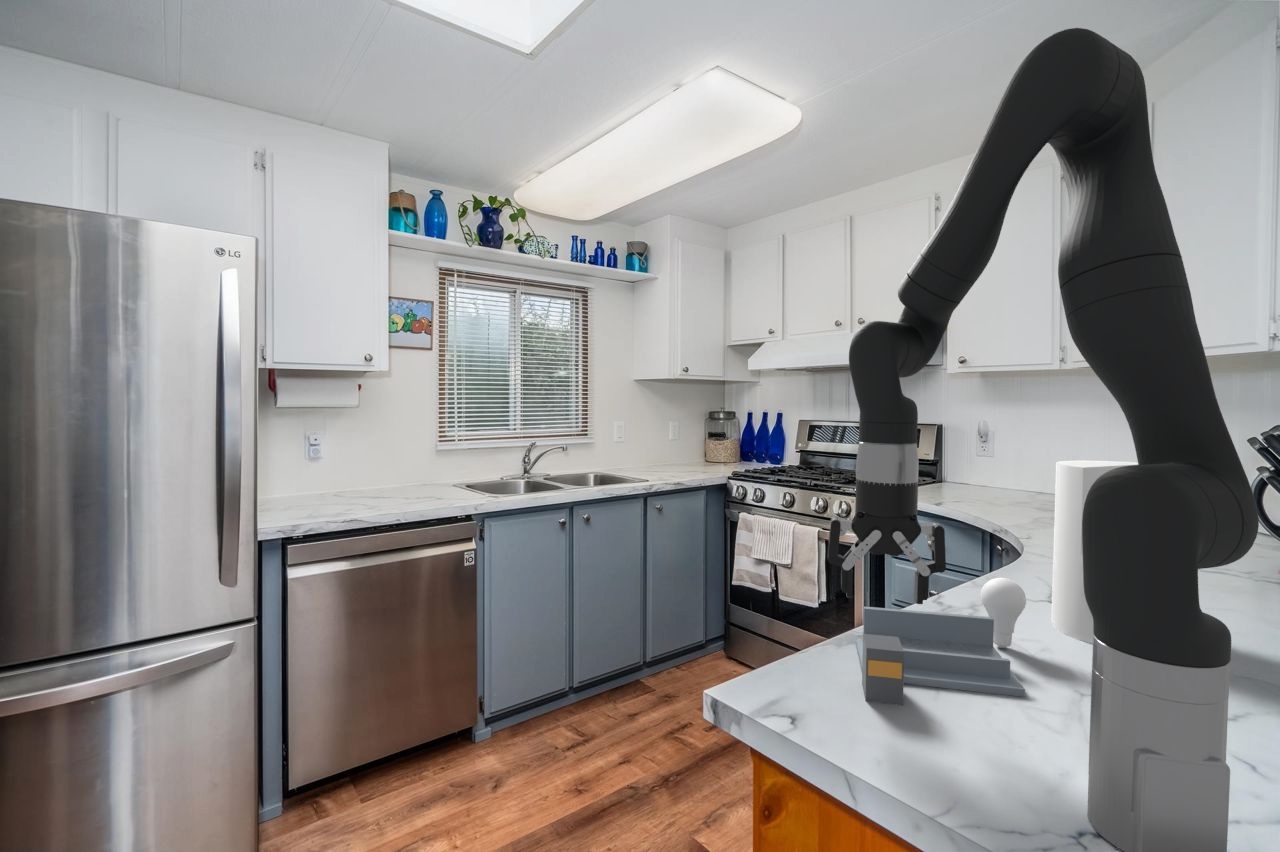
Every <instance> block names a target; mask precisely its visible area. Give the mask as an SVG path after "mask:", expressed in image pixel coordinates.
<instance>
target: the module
mask: <svg viewBox="0 0 1280 852" xmlns="http://www.w3.org/2000/svg"><path fill="white" fill-rule="evenodd" d="M862 640H863V659H862V672H861V686H862V691H863V695H864V699H865V702H871V703H878V704H888V705H896V706H897V705H898V706H904V684H905V683H904V650H903V648H902V645H901V642H900V640H899V637H893V636H883V635H872V634H863V633H862Z"/></svg>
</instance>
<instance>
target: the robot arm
mask: <svg viewBox="0 0 1280 852" xmlns="http://www.w3.org/2000/svg"><path fill="white" fill-rule="evenodd" d="M1150 131H1151V130H1150V121H1149V109H1148V97H1147V89H1146V83H1145V76H1144V74H1143V71H1142V68H1141V67H1140V66H1139V63H1138V62H1137V61H1136V60H1135V58H1133V56H1132V55H1131V54H1129V53H1128V52H1126V51H1125V50H1123V49H1122V48H1120V47H1118V46H1117V45H1116V44H1114V43H1112V42H1111V41H1110V40H1108V39H1107V38H1105V37H1103V36H1102V35H1101V34H1098V33H1097V32H1095V31H1093V30H1091V29H1087V28H1081V27H1073V28H1067V29H1063V30H1060V31H1057V32H1055V33H1053V34H1052V35H1050V36H1048V37H1046V38H1044V39H1043V40H1042V41H1040V43H1038V44H1037V45H1036V46H1035V47H1034V48H1033V49H1032V50H1031V51H1030V52H1029V53H1028V54H1027V56H1025V57H1024V59H1023V60H1022V61H1021V63H1020V64H1019V66H1018V68H1017V69H1016V71H1015V72H1014V74H1013V76H1012V77H1011V79H1010V81H1009V83H1008V84H1007V86H1006V88H1005V90H1004V92H1003V94H1002V96H1001V98H1000V100H999V101H998V105H997V106H996V108H995V111H994V113H993V114H992V117H991V119H990V121H989V123H988V125H987V128H986V130H985V132H984V134H983V136H982V139H981V140H980V142H979V144H978V146H977V148H976V150H975V152H974V154H973V157H972V159H971V160H970V163H969V164H968V167H967V170H966V171H965V174H964V176H963V178H962V180H961V183H960V184H959V187H958V189H957V191H956V193H955V194H954V196H953V199H952V201H951V202H950V204H949V206H948V207H947V209H946V212H945V213H944V214H943V217H942V218H941V221H940V222H939V224H938V225H937V226H936V228H935V230H934V232H933V234H932V235H931V237H930V238H929V240H928V241H927V243H926V245H924V248H922V250H921V252H919V253H920V254H919V255H918V256H917V258H916V259H915V261H914V262H913V264H912V265H911V266H910V268H909V270H908V272H907V273H906V274H905V276H904V277H903V279H902V280H901V283H900V285H899V286H898V290H897V297H898V299H899V301H900V303H901V304H902V305H903V306H904V307H903V309H902V312H901V314H900V317H899V318H898V319H897V320H896V322H894V321H893V322H892V321H882V320H874V321H869V322H866V323H865V324H863V325H861V326H860V327H859V328H858V330H857V331H856V332H855V334H854V335H853V337H852V339H851V342H850V345H849V351H848V363H849V370H850V376H851V380H852V385H853V389H854V393H855V398H856V401H857V405H858V409H859V423H858V424H859V426H858V429H859V431H858V448H857V453H856V461H855V462H856V467H855V506H854V508H855V510H854V512H855V513H854V516H853V518H852V519H851V520H850V519H841V518H839V517H838V516H832V517H831V518H830V521H829V533H828V534H829V535H828V545H827V561H828V563H829V564H830V565H835V566H837V567H838V568H840V570H841V571H840V589H841V591H842V593H844V594H845V595H846V598H848V599H853V594H854V593H853V592H854V591H853V590H854V589H853V588H854V587H853V586H854V585H853V583H854V570H853V567H854V566H855V565H856V564H857V563H858V561H859V560H861V559H862V558H863V557H864V556H865V555H866V554H867V553H870V554H872V555H875V556H876V555H877V556H881V555H888V556H891V557H899V556H900V555H903V554H905V556H906V557H907V558H908V560H910V562H911V563H912V564H913V565H914V567H915V568H916V571H914V589H913V590H914V591H913V594H914V596H913V597H914V598H913V599H914V602H915V604H916V605H923V603H924V601H927V600H928V598H929V591H930V590H929V589H930V587H929V586H930V585H929V584H930V576H931V575H933V574H936V573H940V574H941V573H945V572H946V569H947V564H946V563H947V562H946V560H947V559H946V536H945V534H946V532H945V528H944V527H943V525H941V524H940V523H939V522H937V521H933V522H931V523H929V524H927V523H925V524H924V523H919V520H918V499H919V498H918V497H919V495H918V493H919V491H918V490H919V467H920V466H919V461H920V460H919V454H918V453H919V452H918V444H917V443H918V421H919V419H918V417H919V416H918V415H919V412H918V407H917V404H916V402H915V401H914V400H913V399H912V398H909V397H907V396H905V395H904V393H903V390H902V386H901V381H900V378H901V379H902V378H908V377H911V376H914V375H916V374H918V373H919V372H920V371H921V370H923V369H924V368H925V367H926V366H927V365H928V364H929V363H930V361H931V360H932V358H933V357H934V356H935V354H936V352H937V350H938V348H939V346H940V344H941V342H942V339H943V337H944V335H945V332H946V330H947V328H948V325H949V323H950V320H951V318H952V315H953V312H954V311H955V310H956V308H957V307H958V306H959V305H960V304H961V302H962V300H964V298H965V297H966V296H967V294H968V292H970V290H972V287H973V286H974V284H975V283H977V281H978V279H979V278H980V276H981V275H982V274H983V272H984V271H985V269H986V268H987V266H988V264H989V263H990V261H991V259H992V256H993V254H994V252H995V250H996V247H997V245H998V242H999V239H1000V235H1001V232H1002V229H1003V225H1004V221H1005V217H1006V214H1007V211H1008V209H1009V206H1010V203H1011V200H1012V197H1013V195H1014V193H1015V191H1016V188H1017V187H1018V185H1019V183H1020V181H1021V179H1022V178H1023V176H1024V174H1025V172H1026V171H1027V170H1028V168H1029V167H1030V165H1031V163H1032V162H1033V161H1034V159H1035V158H1036V157H1037V155H1038V154H1039V153H1041V151H1042V150H1043V148H1044V147H1045V146H1046V145H1047V144H1049V145H1050V147H1051V148H1052V149H1053V150H1054V153H1055V155H1056V157H1057V159H1058V161H1059V165H1060V168H1061V171H1062V175H1063V178H1064V183H1065V186H1066V189H1067V190H1066V191H1067V196H1068V205H1069V206H1068V219H1067V223H1066V227H1065V230H1064V234H1063V238H1062V242H1061V246H1060V252H1059V257H1058V266H1057V267H1058V268H1057V275H1058V285H1059V290H1060V297H1061V300H1062V301H1061V302H1062V304H1063V309H1064V311H1063V312H1064V315H1065V320H1066V323H1067V327H1068V330H1069V334H1070V337H1071V339H1072V342H1073V343H1074V346H1075V347H1076V348H1077V350H1078V351H1079V353H1080V354H1081V356H1082V358H1083V359H1084V360H1085V362H1086V363H1087V365H1088V366H1089V367H1090V368H1091V369H1092V371H1093V372H1094V373H1095V375H1096V377H1097V378H1098V379H1099V380H1100V381H1101V382H1102V384H1103V385H1104V386H1105V387H1106V389H1107V390H1108V391H1109V392H1110V394H1111V395H1112V397H1113V398H1114V399H1115V401H1116V402H1117V403H1118V405H1119V407H1120V409H1121V411H1122V412H1123V414H1124V417H1125V419H1126V421H1127V424H1128V426H1129V429H1130V433H1131V436H1132V441H1133V445H1134V448H1135V454H1136V459H1137V463H1138V465H1132V466H1124V467H1119V468H1115V469H1112V470H1109V471H1108V472H1106V473H1104V474H1103V475H1101V476H1100V477H1099V478H1098V479H1097V480H1096V481H1095V482H1094V483H1093V485H1092V486H1091V488H1090V490H1089V492H1088V494H1087V497H1086V500H1085V503H1084V509H1083V517H1082V549H1083V583H1084V594H1085V599H1086V602H1087V605H1088V607H1089V609H1090V612H1091V614H1092V617H1093V644H1092V659H1091V660H1092V661H1091V662H1092V664H1091V685H1090V713H1089V714H1090V716H1089V718H1090V719H1089V721H1090V722H1089V747H1088V750H1089V751H1088V770H1087V771H1088V784H1087V786H1088V787H1087V813H1086V814H1087V817H1088V820H1089V823H1090V824H1091V826H1092V827H1093V829H1094V830H1095V831H1096V832H1097V833H1098V834H1099V835H1100V836H1101V837H1102V838H1103V839H1105V840H1107V842H1109V843H1110V844H1111V845H1113V846H1114V847H1116V848H1118V849H1120V850H1121V851H1122V852H1227V851H1228V832H1229V813H1230V811H1229V810H1230V809H1229V807H1230V788H1231V787H1230V785H1231V784H1230V783H1231V767H1230V766H1229V765H1228V763H1227V743H1228V721H1229V720H1228V718H1229V717H1228V715H1229V696H1230V677H1231V673H1230V672H1231V659H1232V634H1231V630H1230V629H1229V627H1228V626H1227V625H1226V624H1225V623H1224V622H1223V621H1221V620H1220V619H1218V618H1217V617H1215V616H1213V615H1211V614H1208V613H1205V612H1204V611H1203V610H1202V609H1201V607H1200V606H1201V605H1200V594H1199V593H1200V591H1199V570H1202V569H1203V570H1204V569H1211V568H1212V569H1213V568H1218V567H1223V566H1228V565H1230V564H1232V563H1235V562H1237V561H1239V560H1241V558H1243V557H1245V555H1247V554H1248V553H1249V551H1250V550H1251V549H1252V547H1253V545H1254V543H1255V541H1256V539H1257V537H1258V532H1259V526H1260V522H1259V521H1260V519H1259V511H1258V507H1257V502H1256V499H1255V494H1254V492H1253V490H1252V486H1251V485H1250V482H1249V480H1248V479H1249V478H1248V476H1247V474H1246V471H1245V469H1244V465H1243V464H1242V462H1241V459H1240V457H1239V453H1238V451H1237V449H1236V447H1235V444H1234V442H1233V440H1232V439H1233V438H1232V437H1231V434H1230V432H1229V430H1228V426H1227V424H1226V422H1225V420H1224V419H1225V418H1224V416H1223V414H1222V411H1221V408H1220V405H1219V403H1218V402H1219V401H1218V399H1217V395H1216V391H1215V388H1214V384H1213V380H1212V375H1211V372H1210V368H1209V364H1208V360H1207V356H1206V352H1205V348H1204V345H1203V342H1202V337H1201V335H1200V334H1201V333H1200V331H1199V327H1198V324H1197V319H1196V315H1195V309H1194V304H1193V303H1194V302H1193V298H1192V294H1191V288H1190V285H1189V281H1188V277H1187V273H1186V270H1185V269H1186V268H1185V265H1184V261H1183V256H1182V254H1181V251H1180V248H1179V245H1178V242H1177V239H1176V236H1175V232H1174V228H1173V224H1172V220H1171V216H1170V213H1169V209H1168V205H1167V203H1166V199H1165V196H1164V193H1163V190H1162V187H1161V184H1160V182H1159V179H1158V174H1157V172H1156V167H1155V163H1154V157H1153V150H1152V140H1151V132H1150ZM850 529H851V530H852V533H854V535H855V537H857V539H856V541H855V542H854V543H853V544H852V545H851V547H850V549H849V550H848V551H847V552H846V553H845V554H844V555H842V554H839V547H840V538H841V537H844V536H845V535H846V534H847V531H848V530H850ZM921 534H924V536H925V539H926V540H927V541H929V542H930V548H931V551H930V553H931V560H928V561H925V560H923V558H922V557H921V555H919V553H918V552H917V551H916V549H915V548H914V547H913V545H912V544H913V543H914V542H915V541H916V540H917V538H918V537H919V536H920V535H921Z"/></svg>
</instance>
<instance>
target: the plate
mask: <svg viewBox="0 0 1280 852" xmlns="http://www.w3.org/2000/svg"><path fill="white" fill-rule="evenodd" d="M899 640H900V642H901V645H902V648H903V649H913V650H923V651H934V652H944V653H954V654H964V655H975V656H985V657H995V658H1003V657H1002V656H1001V654H1000V653H999V651H998V650H997V649H996V648H995V646H994V645H993V646H987V645H976V644H965V643H954V642H944V641H933V640H922V639H912V638H901V637H899Z"/></svg>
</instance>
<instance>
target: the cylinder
mask: <svg viewBox="0 0 1280 852" xmlns="http://www.w3.org/2000/svg"><path fill="white" fill-rule="evenodd" d="M1132 465H1138V461H1137V462H1134V461H1122V460H1121V461H1118V460H1093V459H1092V460H1090V459H1089V460H1087V459H1086V460H1081V459H1080V460H1076V459H1075V460H1060V461H1056V463H1055V489H1054V519H1053V520H1054V521H1053V522H1054V523H1053V551H1052V552H1053V553H1052V583H1051V584H1052V589H1051V616H1050V617H1051V620H1050V621H1051V625H1052V626H1053V627H1054V628H1055V629H1056V630H1057V631H1059V632H1060V633H1062V634H1065V635H1066V636H1068V635H1069V637H1071V638H1073V639H1076V640H1079V641H1082V642H1084V643H1088V644H1091V645H1093V617H1092V614H1091V612H1090V609H1089V607H1088V605H1087V602H1086V599H1085V594H1084V583H1083V549H1082V517H1083V509H1084V503H1085V500H1086V497H1087V494H1088V492H1089V490H1090V488H1091V486H1092V485H1093V483H1094V482H1095V481H1096V480H1097V479H1098V478H1099V477H1100V476H1101V475H1103V474H1104V473H1106V472H1108V471H1109V470H1112V469H1115V468H1119V467H1124V466H1132Z"/></svg>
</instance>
